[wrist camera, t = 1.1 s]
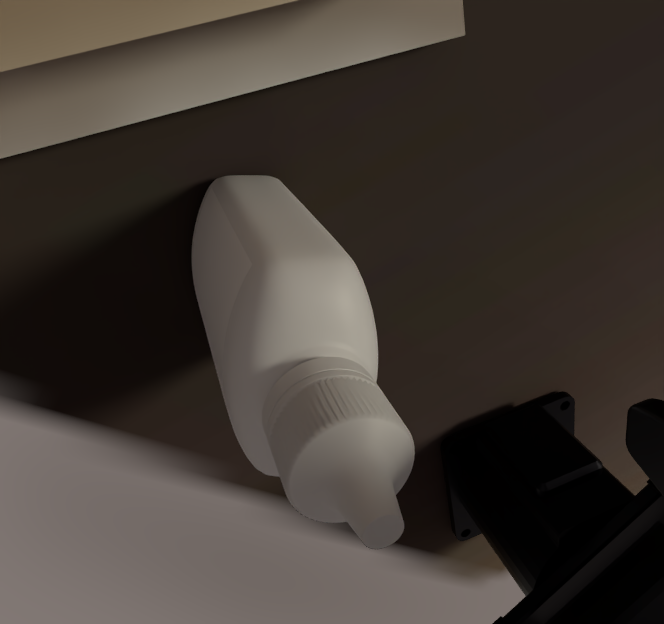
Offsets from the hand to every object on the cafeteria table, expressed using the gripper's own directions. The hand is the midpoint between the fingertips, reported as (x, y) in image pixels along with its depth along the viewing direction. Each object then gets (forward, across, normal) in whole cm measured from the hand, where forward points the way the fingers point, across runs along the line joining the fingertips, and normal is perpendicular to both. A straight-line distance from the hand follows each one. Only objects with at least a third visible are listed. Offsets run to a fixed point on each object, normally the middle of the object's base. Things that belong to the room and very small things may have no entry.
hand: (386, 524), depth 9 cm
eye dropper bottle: (+12, 0, 0) cm, 12 cm away
